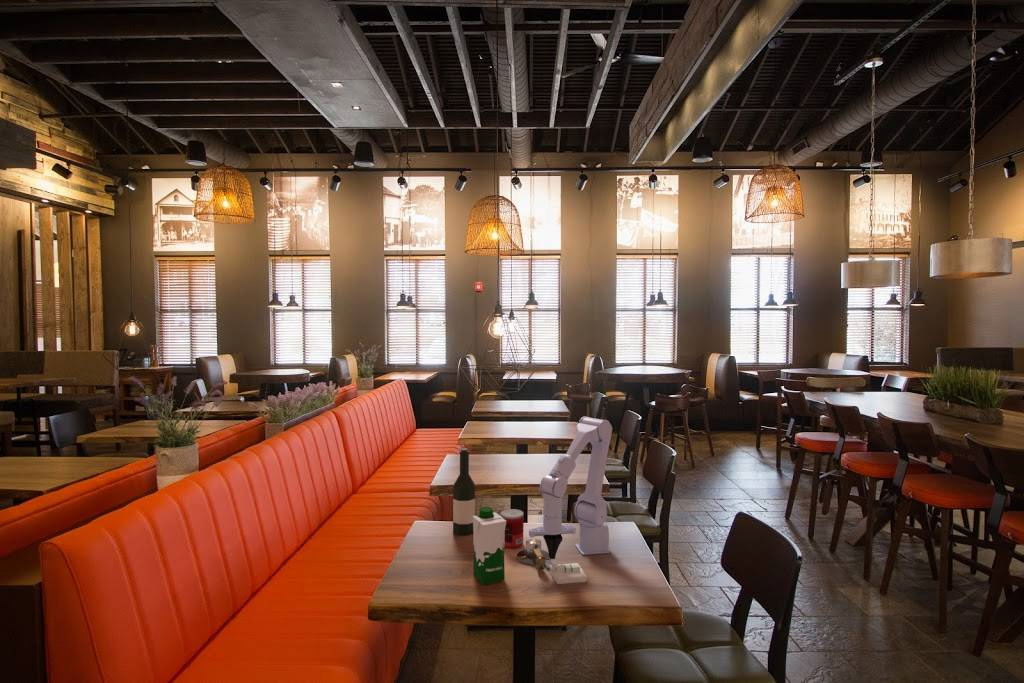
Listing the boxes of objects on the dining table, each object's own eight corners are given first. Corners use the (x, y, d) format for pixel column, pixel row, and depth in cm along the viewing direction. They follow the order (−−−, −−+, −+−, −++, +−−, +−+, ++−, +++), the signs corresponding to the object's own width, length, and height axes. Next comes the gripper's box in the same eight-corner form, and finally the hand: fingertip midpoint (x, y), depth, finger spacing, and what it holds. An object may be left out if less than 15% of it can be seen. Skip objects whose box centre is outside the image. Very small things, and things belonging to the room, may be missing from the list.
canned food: (524, 540, 190) (524, 509, 189) (522, 550, 182) (522, 517, 182) (502, 539, 191) (502, 508, 190) (499, 549, 183) (499, 516, 182)
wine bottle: (479, 528, 200) (479, 447, 199) (470, 537, 192) (470, 452, 191) (458, 525, 203) (458, 445, 201) (448, 534, 195) (448, 450, 193)
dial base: (545, 549, 183) (545, 546, 183) (557, 569, 169) (557, 565, 169) (513, 551, 181) (513, 548, 181) (522, 571, 167) (522, 568, 167)
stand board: (577, 567, 170) (577, 556, 170) (586, 581, 161) (586, 569, 161) (549, 569, 168) (549, 558, 168) (557, 584, 159) (557, 572, 159)
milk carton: (495, 568, 169) (496, 504, 168) (509, 581, 161) (509, 514, 160) (469, 574, 165) (469, 508, 164) (481, 587, 157) (482, 519, 156)
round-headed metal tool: (524, 552, 178) (524, 538, 178) (539, 551, 179) (539, 537, 179) (533, 572, 165) (533, 556, 164) (549, 571, 166) (550, 555, 165)
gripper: (570, 508, 175) (570, 550, 176) (526, 511, 172) (526, 554, 173) (578, 516, 168) (577, 559, 169) (532, 519, 165) (532, 564, 166)
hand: (552, 557), depth 170 cm, fingers closed
